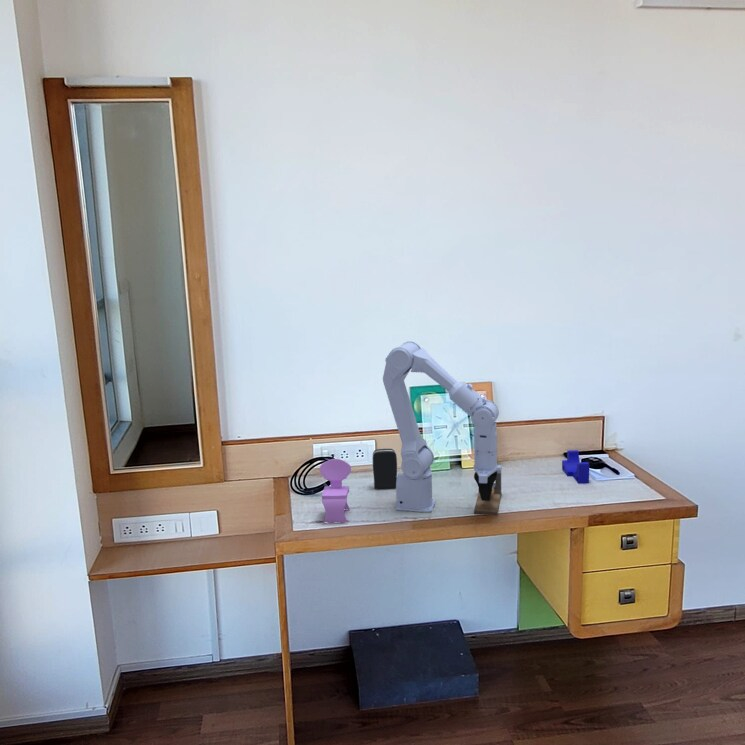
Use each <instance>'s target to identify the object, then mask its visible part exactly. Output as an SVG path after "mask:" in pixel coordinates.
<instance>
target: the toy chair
mask: <svg viewBox="0 0 745 745" xmlns="http://www.w3.org/2000/svg"><path fill="white" fill-rule="evenodd" d="M318 468H319V472H320V475H321V476H322V477H323V478H324V479H325V480H327V481H329V482H330V485H329V486H324V488H323V491H322V494H321V502H322V505H323V507H324V511H325V517H324V520H323V522H348V523H349V521H348V520H347V518H346V515H345V510H344V509H350V510H351V508H350V507H349V504H348V495H349V492H350V488H349V485H344V486H343V483H342V482H343V481H345V479H347V477H348V476H349V475H350V474H351V473H352V472H351V471H352V467H351V465H350V463H348V462H347V461H345V460H343V459H339V458H332V459H329V460H328V459H327V461H324V462H322V463H321V465H320V466H319V467H318Z"/></svg>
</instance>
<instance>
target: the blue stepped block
mask: <svg viewBox="0 0 745 745" xmlns="http://www.w3.org/2000/svg"><path fill="white" fill-rule="evenodd" d="M566 451H567V457H566V458H567V459H562V460H561V470H562V472H564V474H565V475H566V476H567V477H572V478H573V479H574V480H575V481H576V482H577V484H579V485H581V484H583V485H586V484H590V463H589V462H588V461H584V462H580V452H579V450H578V449H575V450H574V449H573V450H566Z"/></svg>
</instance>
